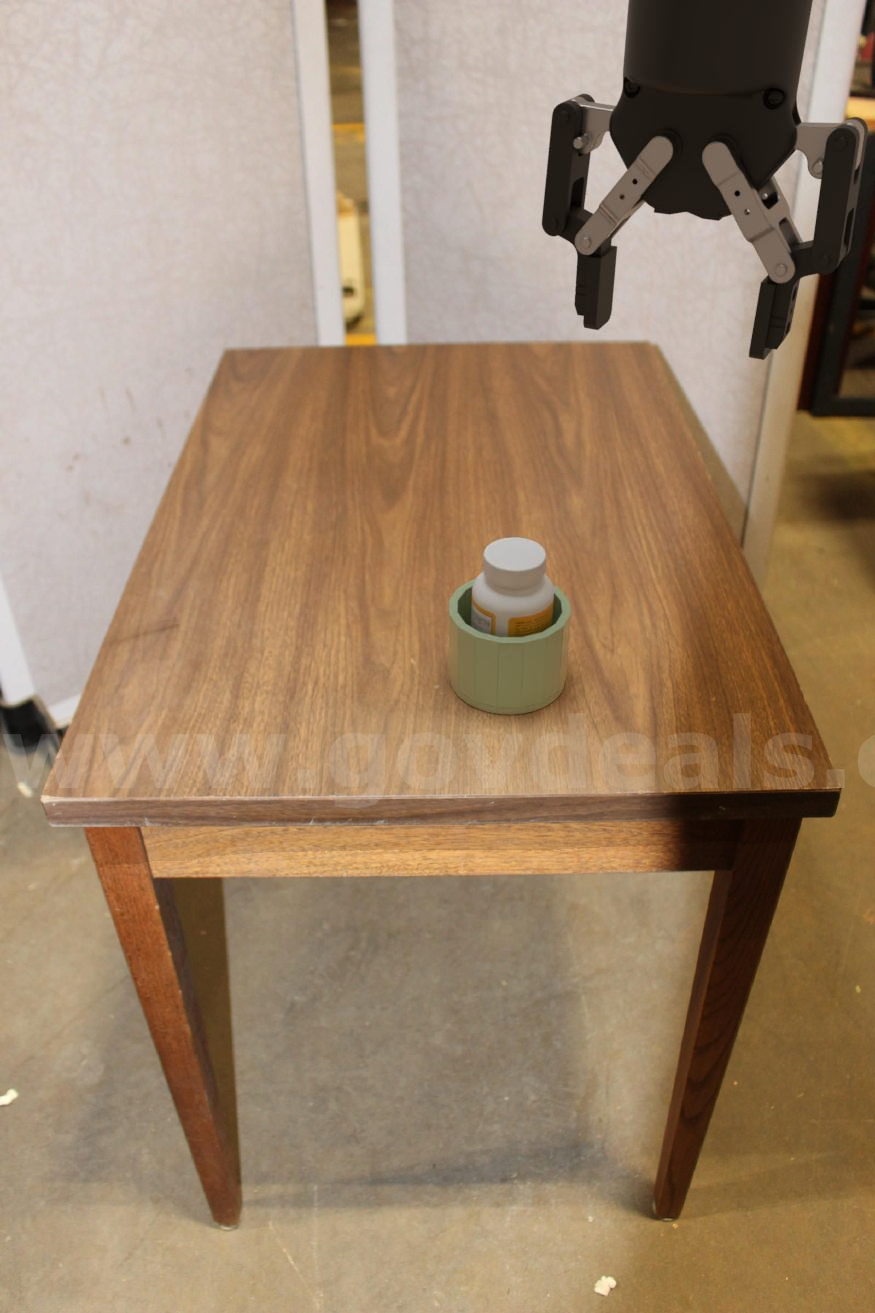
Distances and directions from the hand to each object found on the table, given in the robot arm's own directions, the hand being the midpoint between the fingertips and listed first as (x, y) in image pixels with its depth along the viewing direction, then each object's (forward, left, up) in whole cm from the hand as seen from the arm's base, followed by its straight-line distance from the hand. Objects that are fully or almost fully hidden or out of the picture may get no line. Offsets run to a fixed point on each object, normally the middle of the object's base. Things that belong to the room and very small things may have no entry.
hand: (676, 338), depth 53 cm
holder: (-5, +8, -26) cm, 28 cm away
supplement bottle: (-5, +8, -26) cm, 27 cm away
